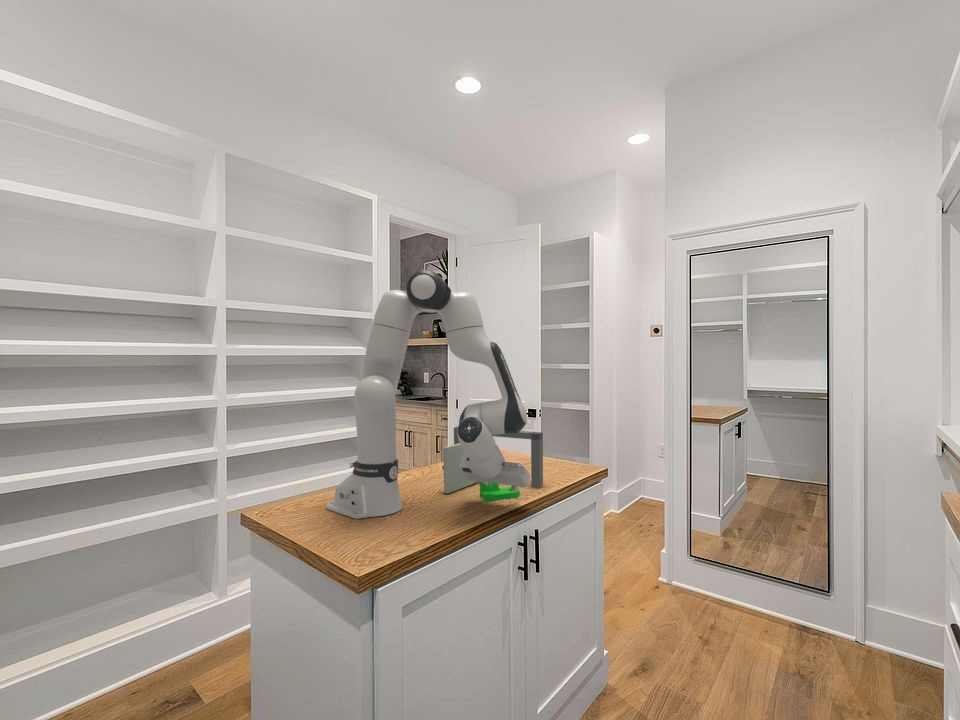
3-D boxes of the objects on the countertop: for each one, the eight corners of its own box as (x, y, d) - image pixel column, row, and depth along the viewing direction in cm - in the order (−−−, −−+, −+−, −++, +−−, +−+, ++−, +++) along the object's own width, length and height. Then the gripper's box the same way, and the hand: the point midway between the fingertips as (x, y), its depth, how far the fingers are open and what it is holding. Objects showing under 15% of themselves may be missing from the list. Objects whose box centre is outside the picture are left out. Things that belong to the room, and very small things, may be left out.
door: (474, 479, 167) (474, 438, 167) (481, 480, 166) (481, 439, 165) (440, 491, 153) (439, 446, 153) (447, 493, 151) (446, 447, 151)
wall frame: (454, 477, 172) (453, 427, 172) (458, 475, 175) (457, 426, 174) (540, 488, 157) (539, 433, 157) (543, 486, 160) (542, 432, 160)
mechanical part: (486, 502, 144) (485, 476, 144) (480, 496, 150) (479, 471, 150) (522, 498, 148) (522, 472, 148) (515, 492, 154) (515, 467, 154)
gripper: (525, 455, 133) (538, 481, 141) (461, 449, 142) (476, 474, 151) (519, 475, 129) (532, 501, 138) (453, 467, 138) (470, 492, 147)
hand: (502, 487), depth 144 cm, fingers open, 7 cm apart
